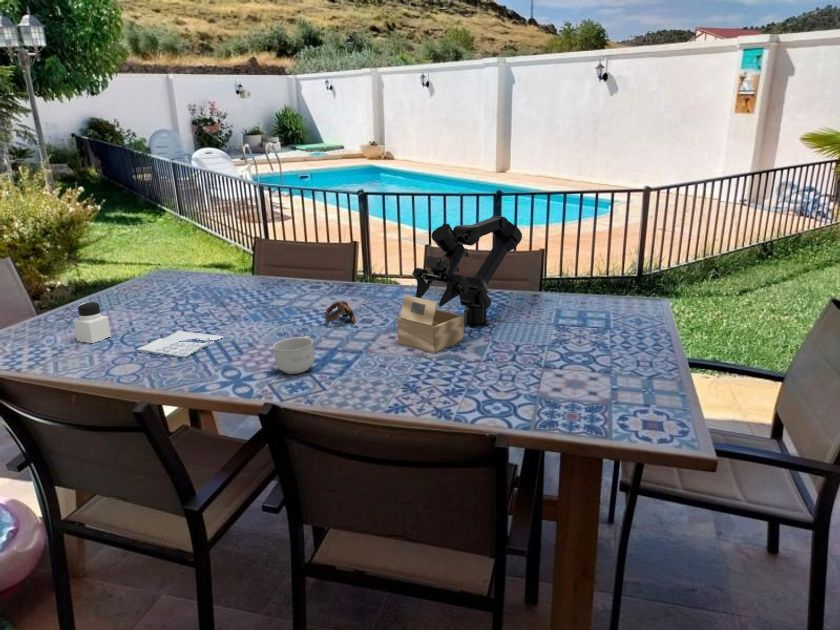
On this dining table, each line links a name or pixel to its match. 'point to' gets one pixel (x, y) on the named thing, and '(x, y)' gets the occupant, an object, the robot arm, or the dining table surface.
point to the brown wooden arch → (339, 312)
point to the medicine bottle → (91, 323)
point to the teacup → (294, 354)
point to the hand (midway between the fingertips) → (427, 303)
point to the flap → (418, 310)
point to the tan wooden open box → (432, 332)
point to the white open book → (179, 344)
